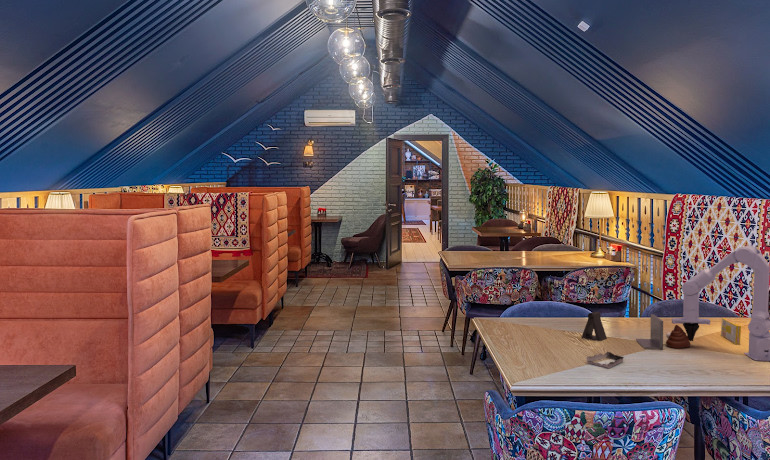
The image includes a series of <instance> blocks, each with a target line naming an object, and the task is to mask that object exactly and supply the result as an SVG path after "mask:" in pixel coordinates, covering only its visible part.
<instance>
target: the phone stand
mask: <svg viewBox="0 0 770 460" xmlns="http://www.w3.org/2000/svg"><path fill="white" fill-rule="evenodd" d="M593 333H594V335H593ZM581 338H582V339H587V340H592V341H597V342H602V341H604V340H607V334H606V331H605V328H604V325H603V322H602V318H601V312H600V311H597V310H596V311H593V312H590V313H588V314H587V321H586V325H584V330H583V332H582V335H581Z"/></svg>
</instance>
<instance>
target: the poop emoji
mask: <svg viewBox="0 0 770 460" xmlns="http://www.w3.org/2000/svg"><path fill="white" fill-rule="evenodd" d="M665 335H666V336H665V337H666V339H667V340H666V342H665V345H666V346H667V347H669V348H671V349H672V348H673V349H679V350H680V349H683V348H690V346H691V345H692V344H691V341H689V338H688V336H687V333H686V331H684V329H683V328H682V327H681V326H680V325H679V324H674V328H673V329H672V330H671V332H667V333H666V334H665Z"/></svg>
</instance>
